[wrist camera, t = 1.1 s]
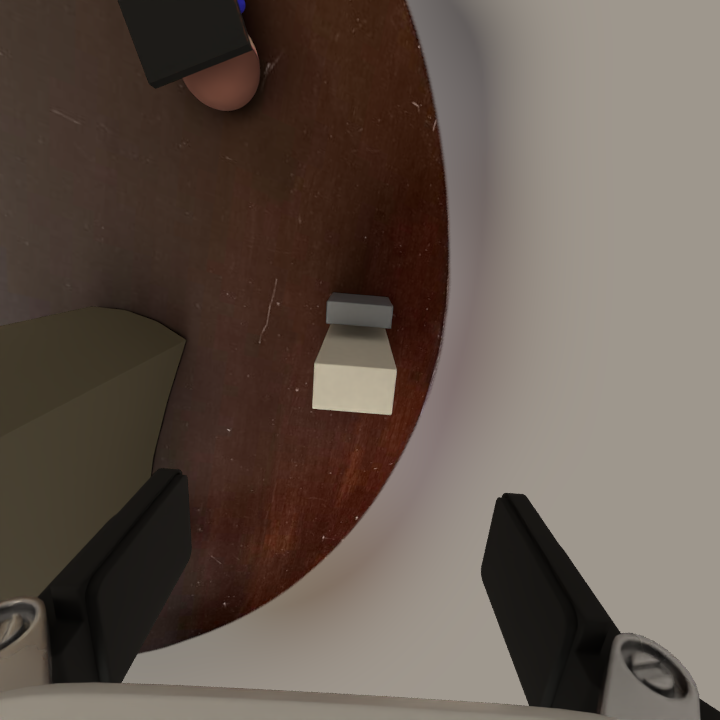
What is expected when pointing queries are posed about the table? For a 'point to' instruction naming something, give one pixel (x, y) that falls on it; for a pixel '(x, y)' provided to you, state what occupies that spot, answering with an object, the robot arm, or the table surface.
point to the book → (75, 432)
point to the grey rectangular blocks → (359, 310)
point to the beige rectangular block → (355, 371)
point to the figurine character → (196, 48)
